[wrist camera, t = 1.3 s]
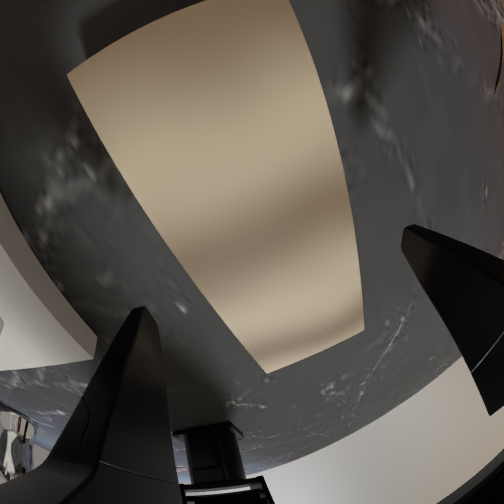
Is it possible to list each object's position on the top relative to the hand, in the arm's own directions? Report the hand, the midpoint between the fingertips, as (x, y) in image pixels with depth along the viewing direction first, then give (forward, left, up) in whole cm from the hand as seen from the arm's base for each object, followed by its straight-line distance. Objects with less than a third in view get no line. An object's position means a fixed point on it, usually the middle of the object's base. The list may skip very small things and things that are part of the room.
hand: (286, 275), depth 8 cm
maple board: (0, 0, -4) cm, 4 cm away
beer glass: (-16, +34, -4) cm, 38 cm away
